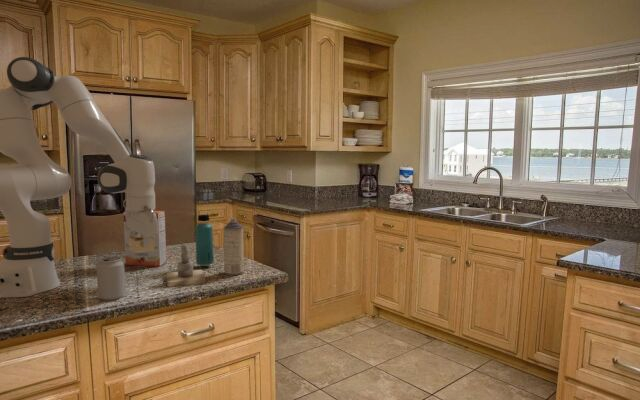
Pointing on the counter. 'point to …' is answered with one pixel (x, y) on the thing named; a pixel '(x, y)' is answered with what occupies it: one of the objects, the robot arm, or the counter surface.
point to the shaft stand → (185, 271)
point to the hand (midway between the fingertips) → (141, 245)
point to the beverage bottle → (204, 241)
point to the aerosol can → (233, 248)
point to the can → (110, 278)
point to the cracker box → (149, 257)
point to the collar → (140, 245)
